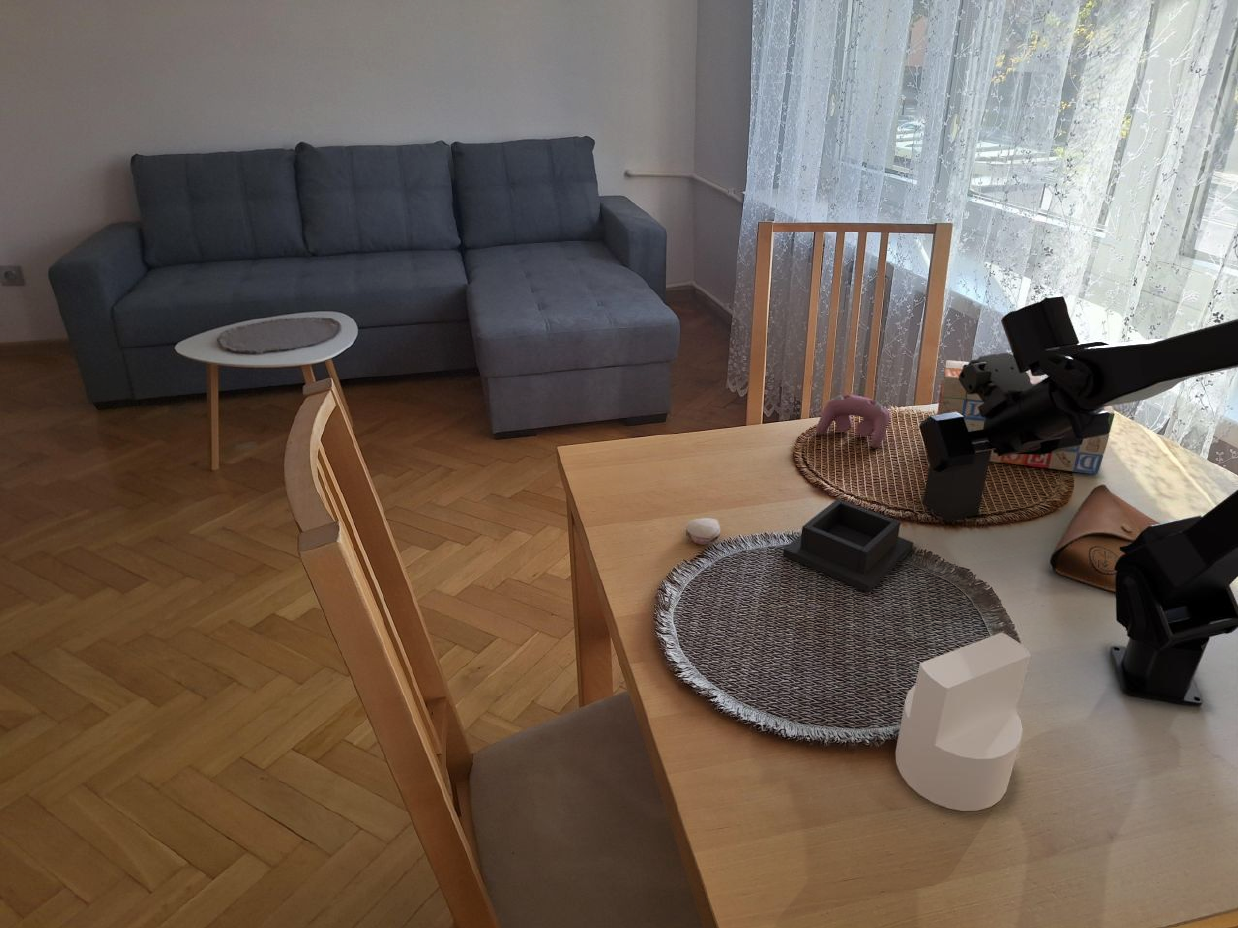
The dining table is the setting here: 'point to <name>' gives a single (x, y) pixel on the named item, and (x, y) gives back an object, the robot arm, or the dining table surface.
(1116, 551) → the sunglasses case
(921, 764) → the cylinder with rectangular tab
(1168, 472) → the dining table surface
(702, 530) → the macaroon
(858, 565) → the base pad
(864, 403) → the video game controller
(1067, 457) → the stack of blocks
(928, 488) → the black pad block
